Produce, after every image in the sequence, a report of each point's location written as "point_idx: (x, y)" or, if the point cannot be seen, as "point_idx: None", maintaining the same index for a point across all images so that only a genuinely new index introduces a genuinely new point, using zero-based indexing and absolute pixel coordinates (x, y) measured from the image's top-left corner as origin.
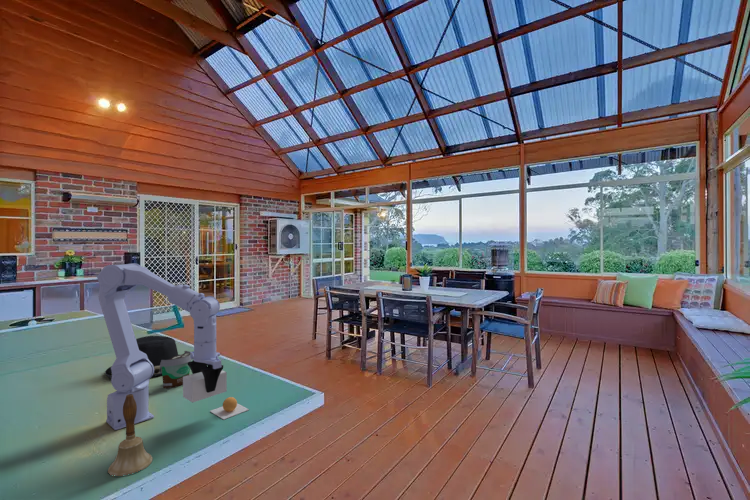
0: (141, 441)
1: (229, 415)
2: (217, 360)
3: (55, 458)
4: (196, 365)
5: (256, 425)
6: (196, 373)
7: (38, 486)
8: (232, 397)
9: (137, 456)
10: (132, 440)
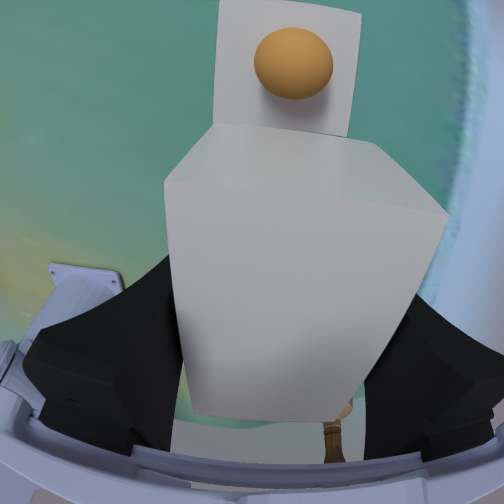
0: (349, 405)
1: (339, 100)
2: (495, 472)
3: (186, 401)
4: (162, 422)
5: (480, 112)
6: (197, 371)
7: (258, 420)
8: (301, 48)
9: None
10: (341, 419)
